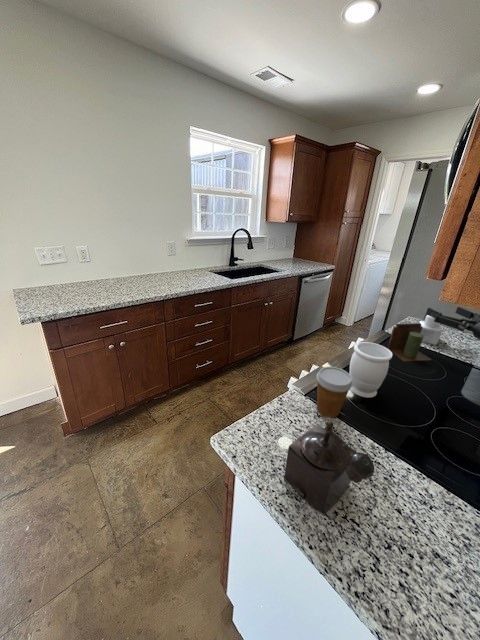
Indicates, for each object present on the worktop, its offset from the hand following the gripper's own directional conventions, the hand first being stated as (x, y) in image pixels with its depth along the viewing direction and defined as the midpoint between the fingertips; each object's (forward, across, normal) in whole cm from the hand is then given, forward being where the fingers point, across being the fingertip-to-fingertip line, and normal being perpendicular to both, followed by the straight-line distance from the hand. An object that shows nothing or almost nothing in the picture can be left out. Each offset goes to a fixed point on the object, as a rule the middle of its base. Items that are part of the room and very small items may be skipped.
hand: (442, 310), depth 110 cm
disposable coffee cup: (-35, -63, -15) cm, 74 cm away
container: (+3, 0, -16) cm, 17 cm away
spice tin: (-9, -18, -15) cm, 25 cm away
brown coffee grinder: (-58, -74, -15) cm, 95 cm away
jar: (-27, -48, -16) cm, 57 cm away
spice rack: (-9, -17, -16) cm, 25 cm away
